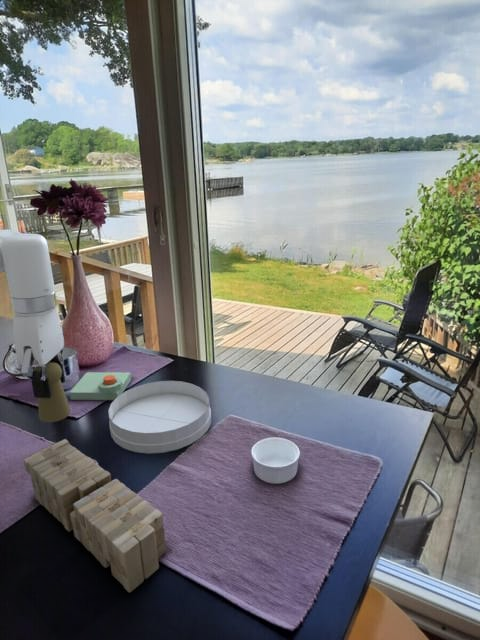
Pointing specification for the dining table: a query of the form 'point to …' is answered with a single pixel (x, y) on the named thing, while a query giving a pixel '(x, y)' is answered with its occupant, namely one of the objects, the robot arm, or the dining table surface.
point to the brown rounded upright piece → (53, 396)
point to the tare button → (109, 380)
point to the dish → (159, 416)
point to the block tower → (99, 512)
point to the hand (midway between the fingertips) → (50, 388)
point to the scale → (100, 386)
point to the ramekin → (275, 460)
